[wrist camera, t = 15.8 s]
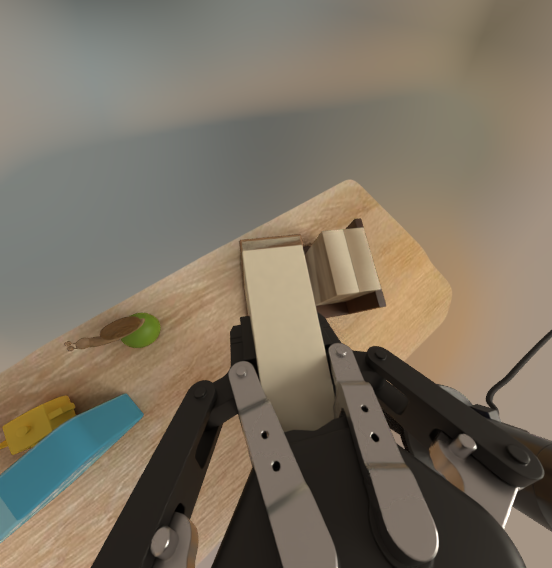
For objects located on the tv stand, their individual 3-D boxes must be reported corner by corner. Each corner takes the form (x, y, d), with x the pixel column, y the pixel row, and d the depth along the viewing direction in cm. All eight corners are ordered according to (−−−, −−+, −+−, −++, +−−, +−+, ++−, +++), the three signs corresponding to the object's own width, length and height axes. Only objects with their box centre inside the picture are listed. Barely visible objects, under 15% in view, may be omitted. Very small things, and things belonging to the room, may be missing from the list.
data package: (73, 482, 28) (-48, 583, 17) (54, 457, 28) (-77, 538, 17) (148, 411, 31) (90, 455, 20) (130, 390, 32) (63, 420, 20)
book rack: (334, 245, 44) (366, 212, 32) (351, 313, 40) (393, 304, 29) (242, 254, 40) (240, 221, 29) (252, 329, 37) (255, 327, 25)
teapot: (34, 458, 28) (-11, 484, 23) (21, 419, 29) (-26, 437, 24) (95, 421, 30) (65, 438, 25) (80, 386, 31) (48, 396, 26)
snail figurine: (119, 330, 34) (53, 327, 22) (155, 308, 35) (111, 295, 24) (135, 357, 33) (75, 369, 21) (171, 333, 35) (134, 333, 23)
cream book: (276, 282, 22) (301, 233, 12) (293, 378, 20) (343, 426, 9) (243, 286, 22) (239, 239, 11) (257, 386, 19) (267, 447, 9)
